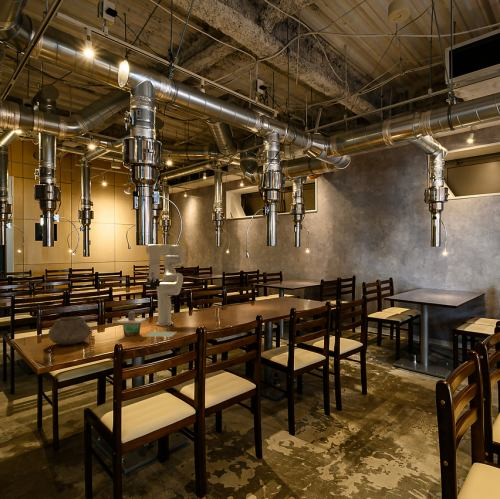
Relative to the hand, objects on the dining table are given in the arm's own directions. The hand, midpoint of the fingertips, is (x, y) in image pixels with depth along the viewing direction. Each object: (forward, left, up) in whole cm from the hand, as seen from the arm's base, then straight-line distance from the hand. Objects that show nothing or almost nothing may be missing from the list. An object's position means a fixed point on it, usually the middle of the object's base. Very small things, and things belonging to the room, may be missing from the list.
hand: (154, 287), depth 226 cm
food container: (+16, -10, -30) cm, 36 cm away
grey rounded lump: (+33, -40, -30) cm, 60 cm away
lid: (+16, -10, -20) cm, 27 cm away
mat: (+11, +8, -30) cm, 33 cm away
